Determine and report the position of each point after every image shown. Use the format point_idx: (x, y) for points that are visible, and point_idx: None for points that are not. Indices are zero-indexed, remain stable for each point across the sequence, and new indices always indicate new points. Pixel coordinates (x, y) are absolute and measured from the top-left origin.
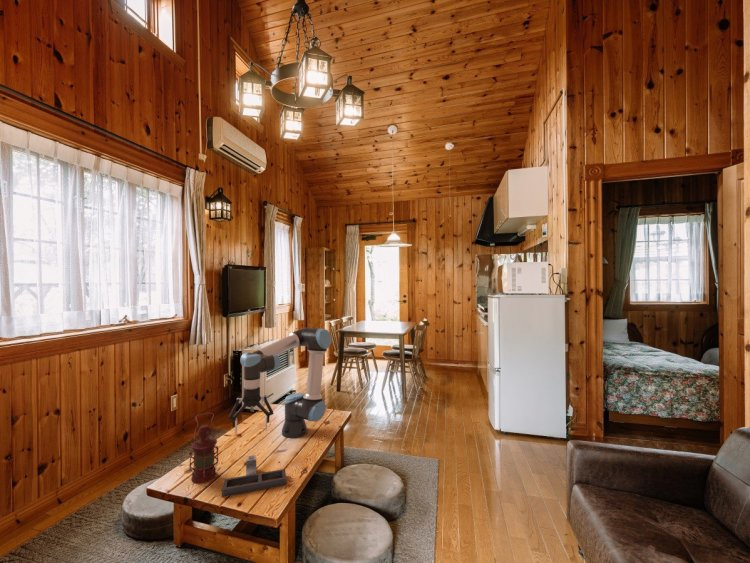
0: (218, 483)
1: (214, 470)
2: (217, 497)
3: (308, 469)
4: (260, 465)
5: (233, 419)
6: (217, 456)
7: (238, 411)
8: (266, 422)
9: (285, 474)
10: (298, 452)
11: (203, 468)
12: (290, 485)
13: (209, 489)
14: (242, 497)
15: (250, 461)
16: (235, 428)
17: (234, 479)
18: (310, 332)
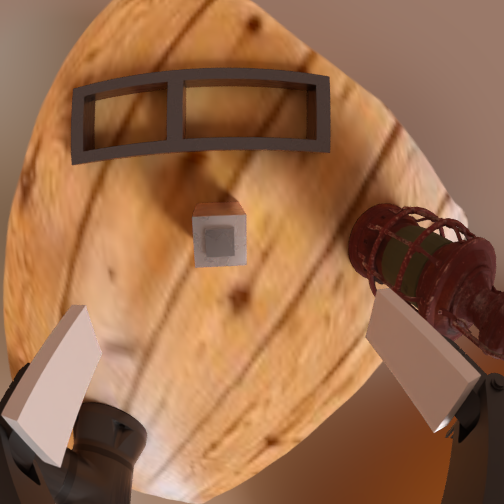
0: (339, 180)
1: (364, 242)
2: (333, 89)
3: (17, 189)
4: (183, 267)
5: (500, 378)
6: (379, 275)
7: (502, 486)
8: (36, 362)
9: (72, 119)
10: (60, 318)
11: (417, 209)
12: (72, 91)
13: (363, 152)
14: (245, 54)
15: (223, 214)
16: (419, 319)
17: (288, 138)
18: None
